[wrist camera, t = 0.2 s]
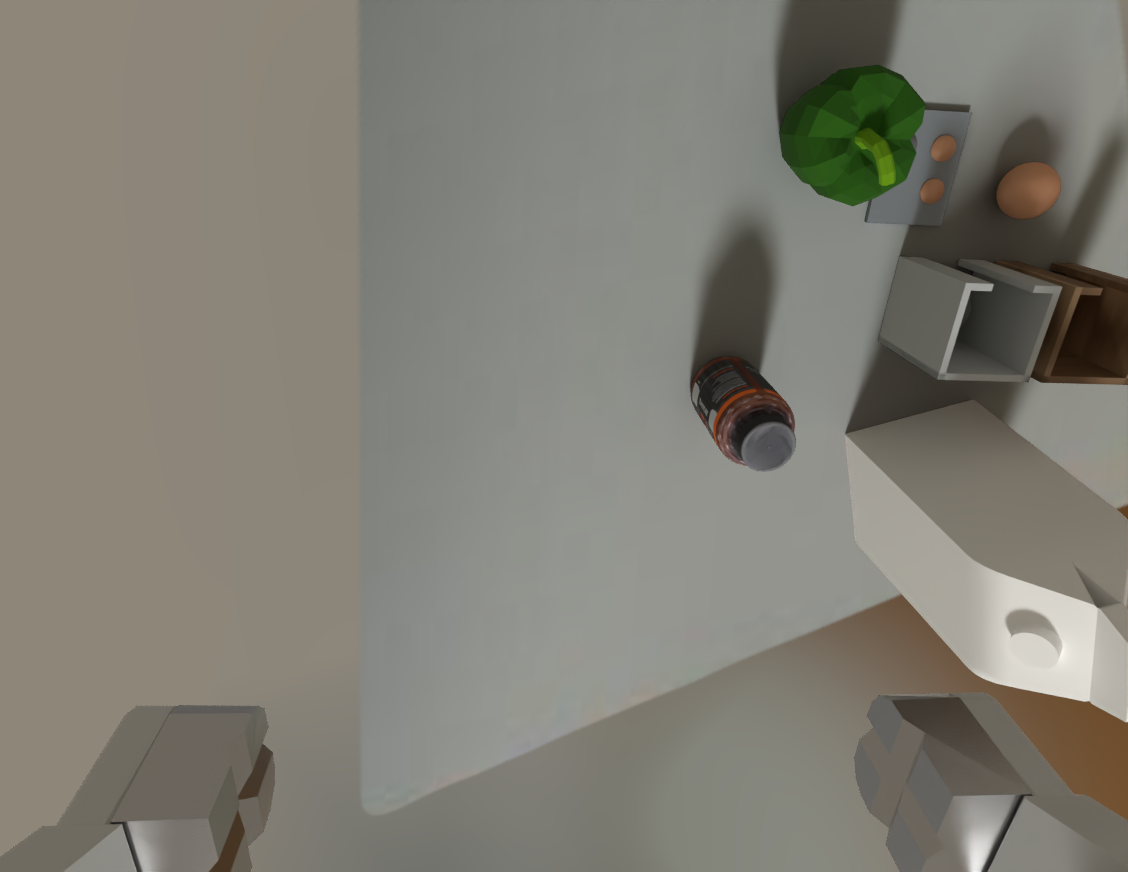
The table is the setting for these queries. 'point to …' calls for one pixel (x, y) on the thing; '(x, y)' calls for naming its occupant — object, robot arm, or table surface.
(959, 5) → the table surface
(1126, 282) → the walnut tube
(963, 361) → the grey tube
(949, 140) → the card
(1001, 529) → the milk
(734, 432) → the supplement bottle
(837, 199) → the bell pepper
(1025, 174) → the loose ball
